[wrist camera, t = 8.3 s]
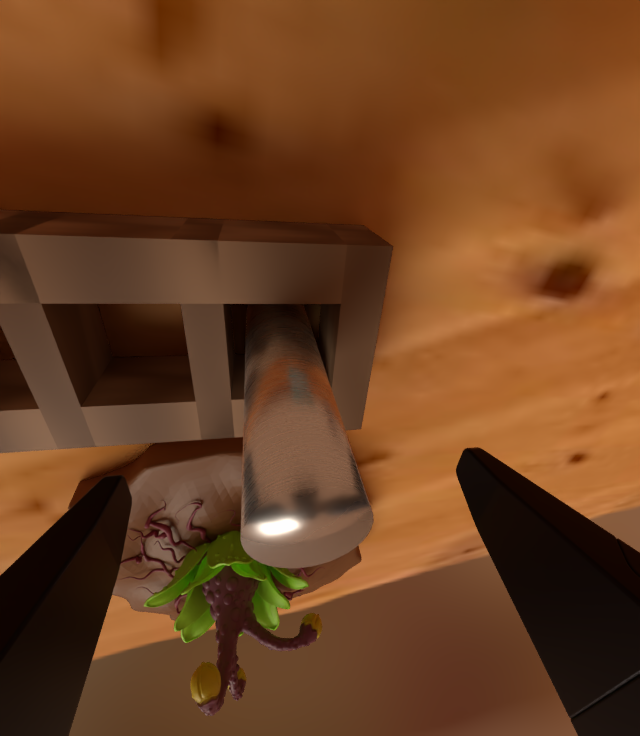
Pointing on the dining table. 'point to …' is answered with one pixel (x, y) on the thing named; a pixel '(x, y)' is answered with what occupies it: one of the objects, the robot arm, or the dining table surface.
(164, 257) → the hole block
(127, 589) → the plant
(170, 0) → the dining table surface
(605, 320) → the dining table surface
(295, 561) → the peg
